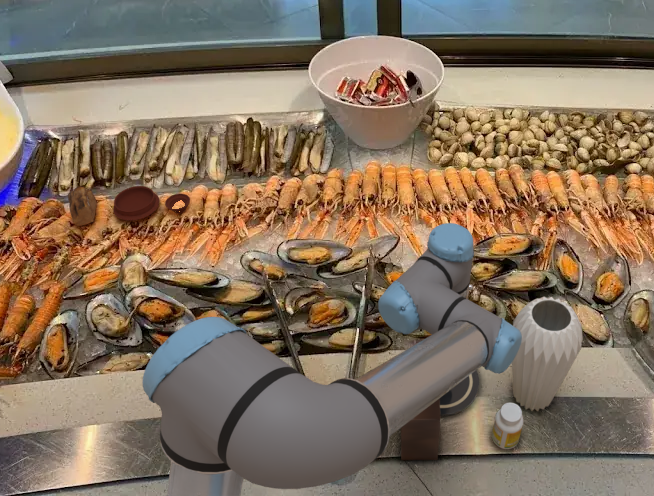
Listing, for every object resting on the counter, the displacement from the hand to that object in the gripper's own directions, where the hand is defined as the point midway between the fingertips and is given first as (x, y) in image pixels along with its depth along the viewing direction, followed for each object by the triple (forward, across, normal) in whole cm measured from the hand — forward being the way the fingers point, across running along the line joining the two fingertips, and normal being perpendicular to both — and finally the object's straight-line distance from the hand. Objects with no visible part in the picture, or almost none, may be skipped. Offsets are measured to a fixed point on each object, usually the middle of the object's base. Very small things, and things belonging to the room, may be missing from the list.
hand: (442, 369), depth 134 cm
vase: (+7, 0, -19) cm, 20 cm away
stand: (+7, -13, +4) cm, 15 cm away
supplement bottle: (+7, -10, -13) cm, 18 cm away
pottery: (+7, +46, +80) cm, 92 cm away
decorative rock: (+7, +42, +96) cm, 105 cm away
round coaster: (+7, +1, 0) cm, 7 cm away
